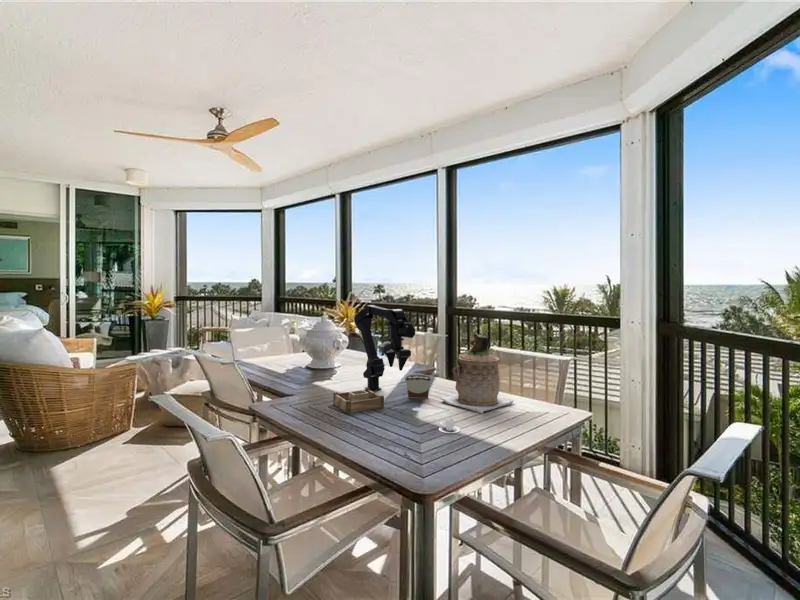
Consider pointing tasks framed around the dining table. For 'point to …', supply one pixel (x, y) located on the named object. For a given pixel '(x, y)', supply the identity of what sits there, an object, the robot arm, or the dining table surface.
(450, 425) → the teacup and saucer
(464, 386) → the cookie jar
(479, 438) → the dining table surface
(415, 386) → the food container
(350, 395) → the pale crate
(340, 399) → the crate
